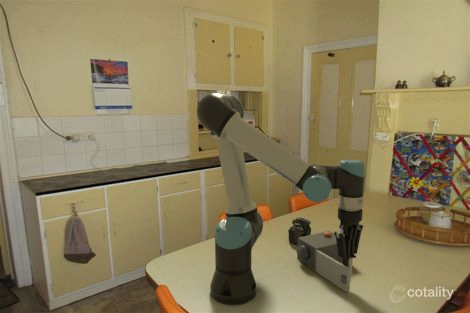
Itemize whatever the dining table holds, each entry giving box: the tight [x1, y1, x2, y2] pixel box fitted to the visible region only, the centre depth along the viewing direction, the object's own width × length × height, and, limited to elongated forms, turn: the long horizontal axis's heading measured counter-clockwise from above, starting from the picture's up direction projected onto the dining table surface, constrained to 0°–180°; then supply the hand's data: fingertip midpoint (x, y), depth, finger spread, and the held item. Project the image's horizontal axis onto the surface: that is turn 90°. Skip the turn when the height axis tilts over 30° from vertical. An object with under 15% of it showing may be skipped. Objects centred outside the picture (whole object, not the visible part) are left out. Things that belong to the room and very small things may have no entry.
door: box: [313, 250, 352, 293], centre depth 110 cm, size 16×2×8 cm, turn 27°
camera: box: [287, 216, 312, 246], centre depth 146 cm, size 13×10×10 cm
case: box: [296, 230, 343, 270], centre depth 126 cm, size 18×11×10 cm, turn 116°
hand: (346, 275), depth 108 cm, fingers closed
